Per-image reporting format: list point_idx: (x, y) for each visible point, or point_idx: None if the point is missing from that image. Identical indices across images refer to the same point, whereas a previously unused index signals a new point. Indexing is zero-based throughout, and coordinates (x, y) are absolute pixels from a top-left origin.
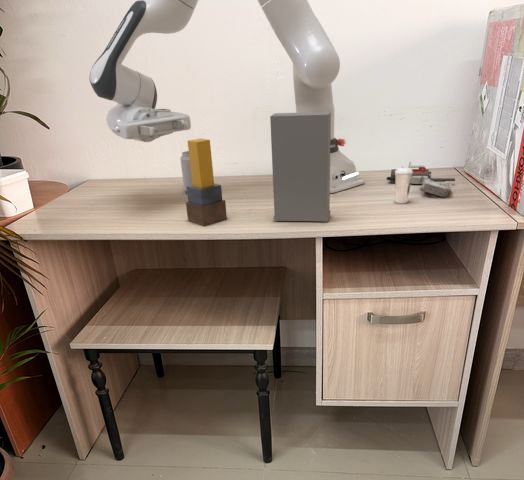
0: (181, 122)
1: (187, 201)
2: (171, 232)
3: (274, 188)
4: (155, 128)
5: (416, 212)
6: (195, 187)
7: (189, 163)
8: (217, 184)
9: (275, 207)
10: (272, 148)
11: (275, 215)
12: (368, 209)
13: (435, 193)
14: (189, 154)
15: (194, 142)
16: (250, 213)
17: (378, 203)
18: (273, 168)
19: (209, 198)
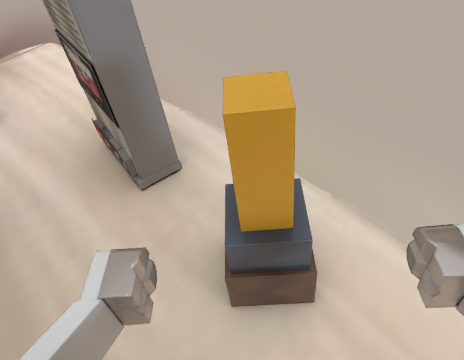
0: (130, 268)
1: (309, 274)
2: (391, 250)
3: (163, 115)
4: (430, 228)
5: (39, 94)
6: (296, 208)
7: None
8: (229, 193)
9: (173, 146)
10: (140, 33)
11: (177, 158)
12: (45, 129)
13: None
14: (293, 149)
15: (288, 79)
16: (164, 237)
17: (4, 139)
18: (152, 77)
19: None
